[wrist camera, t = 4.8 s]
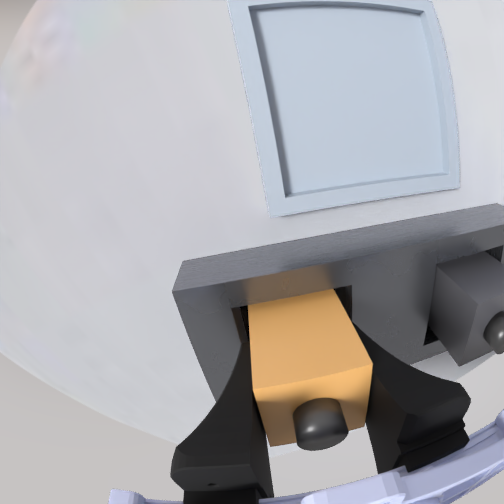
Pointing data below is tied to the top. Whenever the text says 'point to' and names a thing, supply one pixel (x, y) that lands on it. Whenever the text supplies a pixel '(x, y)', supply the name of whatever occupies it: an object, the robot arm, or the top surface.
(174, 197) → the top surface
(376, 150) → the tray
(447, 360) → the top surface
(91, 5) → the top surface
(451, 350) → the grey block with knob
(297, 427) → the plug
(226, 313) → the strip
